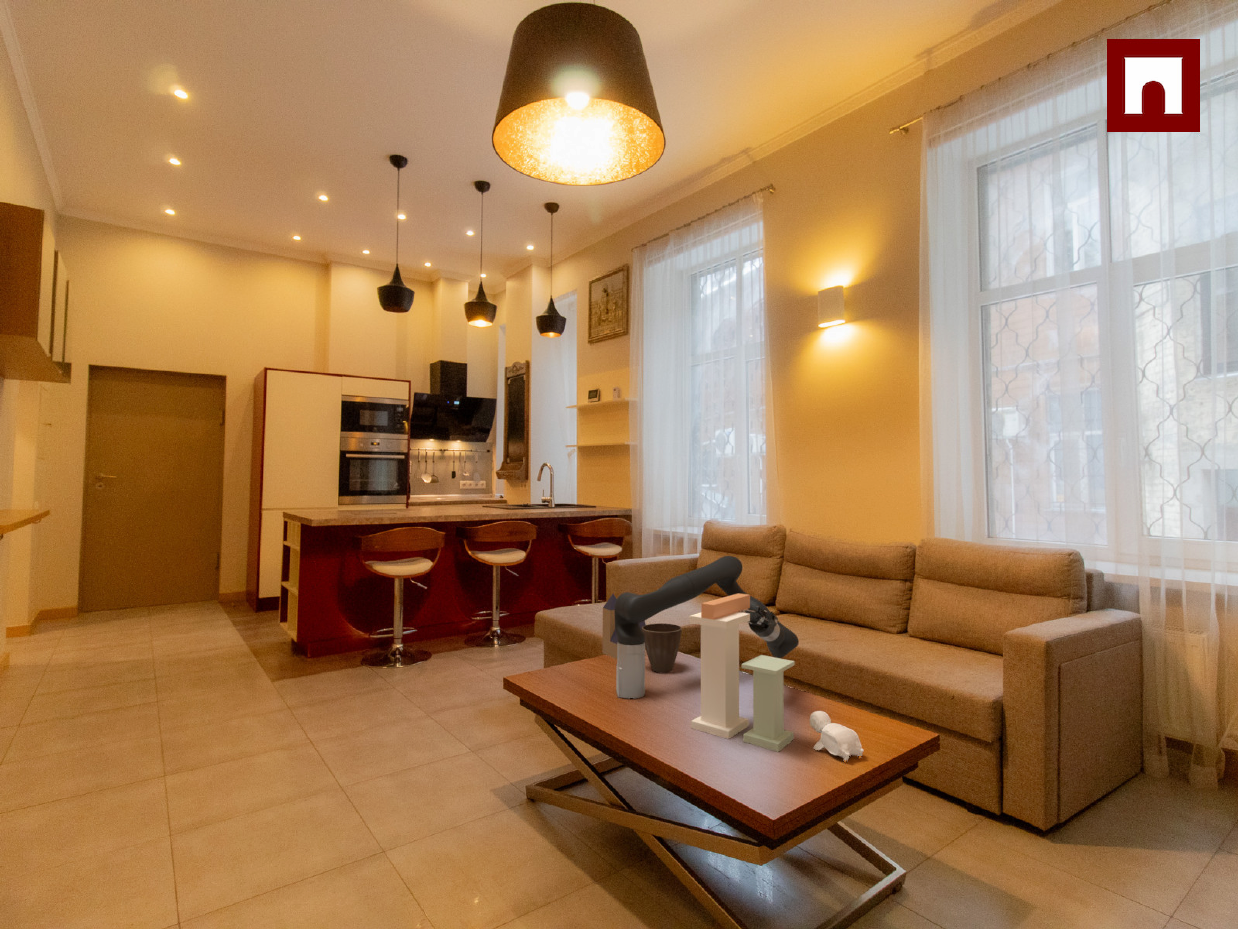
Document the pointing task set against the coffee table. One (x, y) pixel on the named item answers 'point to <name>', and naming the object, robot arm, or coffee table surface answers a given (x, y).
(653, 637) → the plant pot
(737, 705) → the tall stand
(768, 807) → the coffee table surface
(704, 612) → the beam
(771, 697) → the short stand
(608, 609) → the toy building blocks
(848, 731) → the white turtle figurine
